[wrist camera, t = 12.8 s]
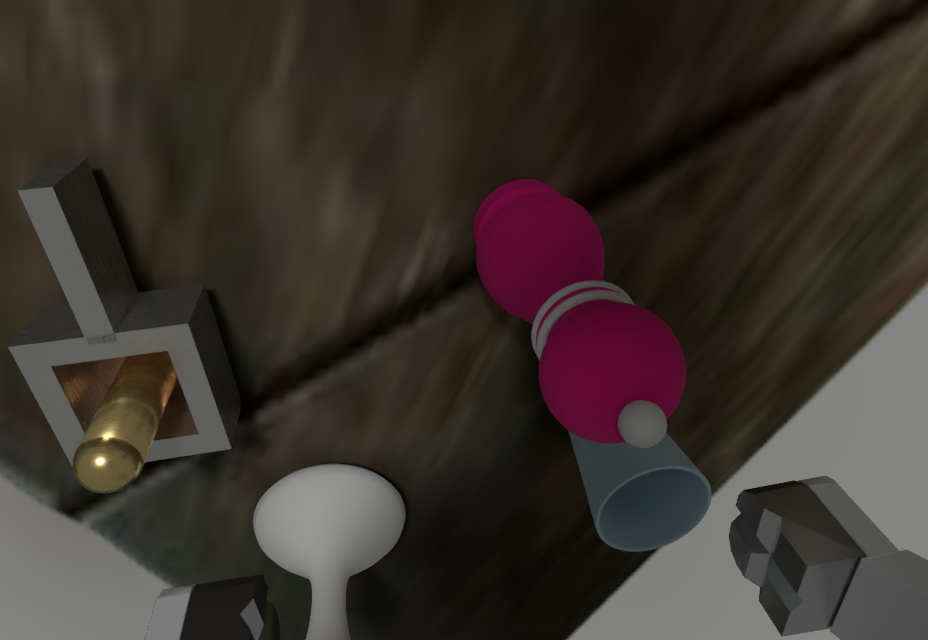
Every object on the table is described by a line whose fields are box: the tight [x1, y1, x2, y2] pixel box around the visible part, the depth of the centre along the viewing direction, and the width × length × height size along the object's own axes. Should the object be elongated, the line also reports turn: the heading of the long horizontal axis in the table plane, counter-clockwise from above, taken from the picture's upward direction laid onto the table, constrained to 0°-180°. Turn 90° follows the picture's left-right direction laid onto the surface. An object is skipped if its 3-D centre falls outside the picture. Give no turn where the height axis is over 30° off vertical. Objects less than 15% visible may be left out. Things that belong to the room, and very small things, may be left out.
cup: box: [568, 430, 711, 552], centre depth 44 cm, size 8×8×10 cm
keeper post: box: [73, 351, 183, 493], centre depth 35 cm, size 8×8×11 cm
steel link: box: [8, 158, 242, 467], centre depth 35 cm, size 17×9×4 cm, turn 3°
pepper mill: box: [473, 179, 686, 448], centre depth 31 cm, size 7×7×20 cm
